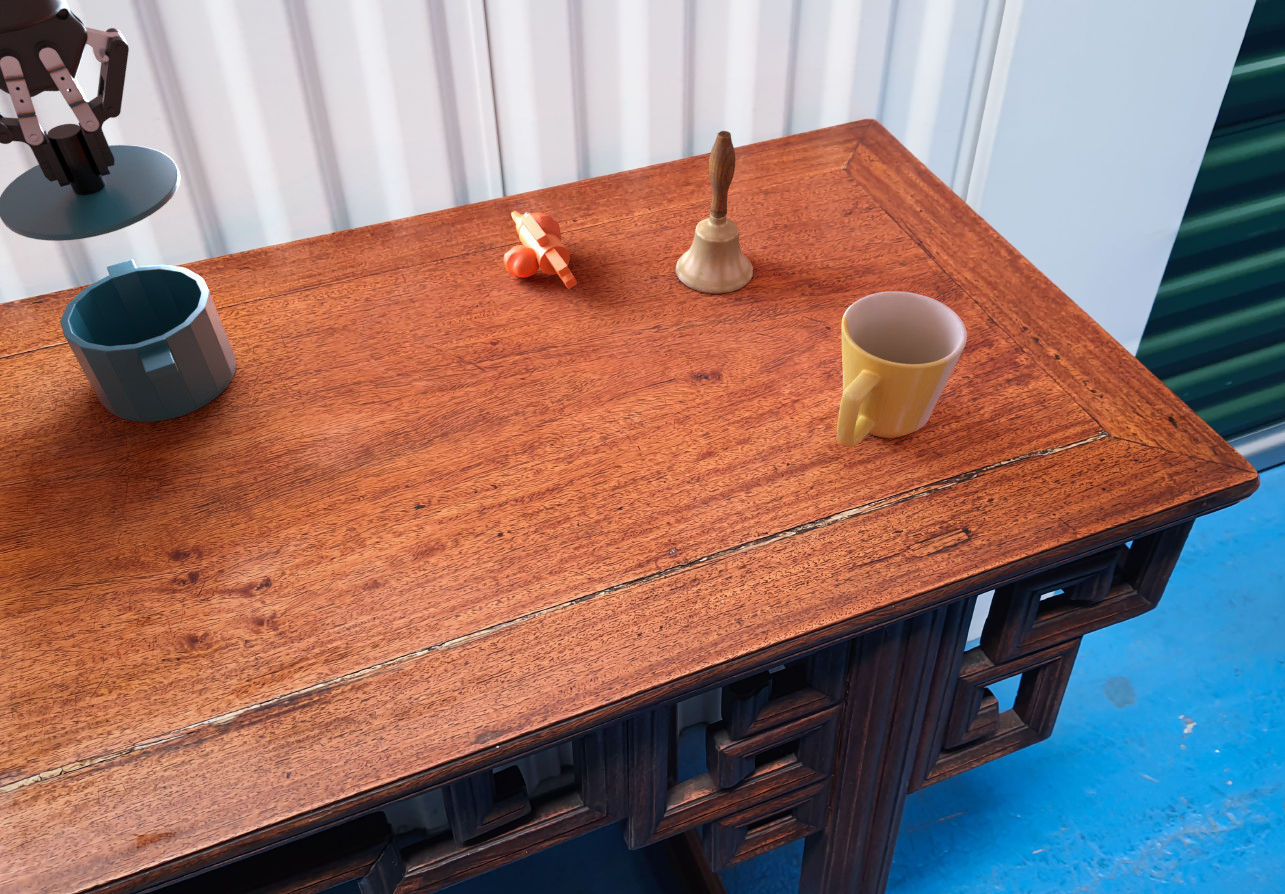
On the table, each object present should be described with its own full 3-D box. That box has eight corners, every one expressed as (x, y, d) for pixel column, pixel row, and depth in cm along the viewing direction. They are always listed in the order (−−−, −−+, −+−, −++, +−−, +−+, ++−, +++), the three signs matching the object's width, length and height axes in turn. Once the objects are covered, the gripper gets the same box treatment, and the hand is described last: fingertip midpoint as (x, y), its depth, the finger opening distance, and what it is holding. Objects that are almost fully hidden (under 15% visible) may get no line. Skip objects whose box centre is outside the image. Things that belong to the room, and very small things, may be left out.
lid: (15, 267, 73) (-24, 196, 69) (-6, 184, 81) (-42, 117, 77) (200, 215, 78) (174, 145, 74) (163, 142, 86) (137, 75, 82)
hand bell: (755, 251, 109) (767, 114, 97) (750, 297, 103) (762, 157, 91) (680, 245, 109) (683, 109, 98) (670, 290, 104) (673, 151, 92)
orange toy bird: (581, 246, 99) (536, 189, 107) (518, 285, 99) (477, 225, 107) (598, 280, 103) (553, 223, 111) (537, 318, 103) (496, 258, 111)
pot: (119, 458, 87) (79, 387, 81) (84, 347, 98) (46, 277, 92) (259, 408, 92) (231, 336, 86) (211, 307, 103) (183, 237, 96)
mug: (877, 364, 95) (896, 274, 88) (964, 420, 90) (992, 329, 82) (777, 430, 89) (788, 339, 82) (864, 494, 84) (885, 403, 76)
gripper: (78, -93, 70) (164, 133, 83) (-146, -55, 65) (-18, 179, 78) (97, -61, 66) (185, 173, 78) (-142, -18, 61) (-7, 224, 73)
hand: (83, 175), depth 78 cm, fingers closed on lid, 2 cm apart
